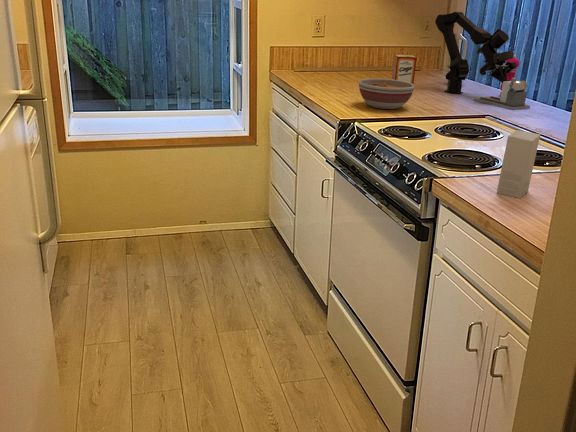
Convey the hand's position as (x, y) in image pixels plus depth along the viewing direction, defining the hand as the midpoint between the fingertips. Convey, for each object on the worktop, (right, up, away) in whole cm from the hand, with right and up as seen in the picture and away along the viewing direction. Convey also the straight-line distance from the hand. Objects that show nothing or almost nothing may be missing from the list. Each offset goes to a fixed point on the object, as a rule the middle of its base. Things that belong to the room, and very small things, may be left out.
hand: (506, 84), depth 276 cm
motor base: (0, -9, +3) cm, 9 cm away
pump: (+1, -8, +1) cm, 8 cm away
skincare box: (-38, -53, -113) cm, 131 cm away
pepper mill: (+8, -2, +23) cm, 24 cm away
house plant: (-10, +9, +48) cm, 50 cm away
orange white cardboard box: (-41, +4, +31) cm, 51 cm away
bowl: (-57, -13, -15) cm, 60 cm away
